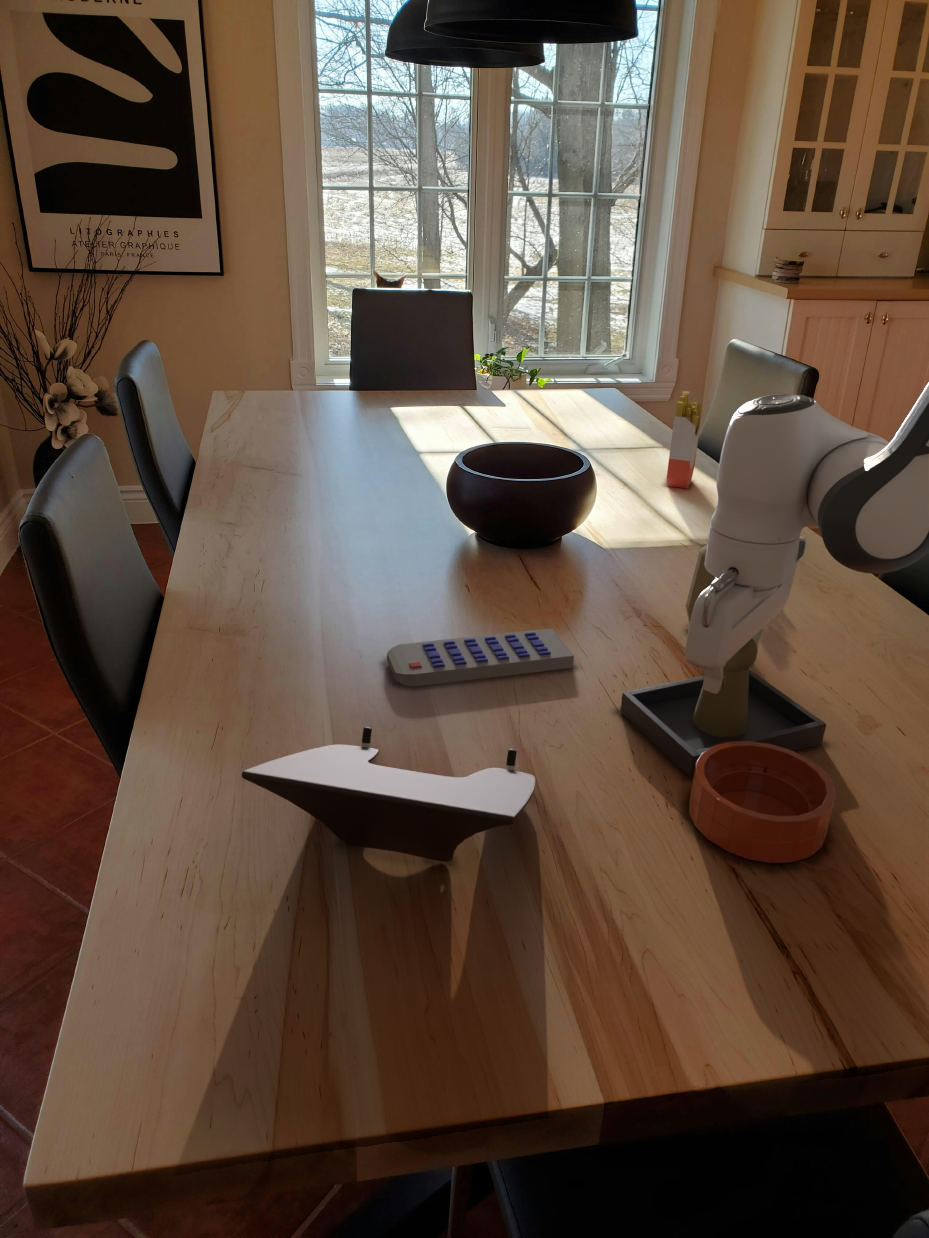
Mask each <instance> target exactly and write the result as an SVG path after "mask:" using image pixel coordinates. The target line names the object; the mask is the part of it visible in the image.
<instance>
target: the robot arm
mask: <svg viewBox="0 0 929 1238" xmlns="http://www.w3.org/2000/svg"><path fill="white" fill-rule="evenodd" d="M717 469H718V470H717V476H716V491H717V504H716V507H715V510H714V512H713V514H712V517H711V518H710V522H709V523H710V524H709V531H708V537H707V544H706V545H707V550H706V557H705V568H706V570H707V571H708V572H709V573H710V574H712V575H713V576H715V580H714V581H713V582H712V583H711V585H710V586H709V587H708V588H706V589H705V590H704V591H703V592H702V593H701V594H700V595H699V596H698V598H697V600H696V603H695V605H694V609H693V612H692V616H691V621H690V625H689V626H688V629H687V630H688V631H687V635H686V640H685V646H684V653H683V654H684V658H685V662H686V663H688V664H690V665H692V666H695V667H697V668H701V669H702V673H703V676H704V682H703V689H704V690H705V691H708V692H711V693H714V694H717V693H718V692H719V691H720V690H721V689H722V688H723V687H724V682H725V678H726V675H724V674H723V667H724V666H725V665H726V662H727V661H728V660H729V659H730V658H732V657H733V656H734V655H735V654H736V653H737V652H738V651H739V650H740V649H741V648H742V647H743V646H744V645H745V644H746V643H747V642H748V641H749V640H751V639H754V641H755V643H756V645H757V650H758V651H759V647H760V643H761V641H762V639H763V636H764V633H765V631H766V629H767V627H768V626H767V625H768V624H769V623H770V622H771V621H772V620H773V619H774V618H775V617H776V616H777V615H778V614H779V613H780V612H781V611H782V610H783V609H784V607H785V606H786V604H787V601H788V599H789V597H790V593H791V590H792V587H793V584H794V583H793V582H794V579H795V576H796V572H797V568H798V563H799V561H800V560H801V559H802V557H803V556H804V555H805V553H806V548H807V544H808V543H807V542H808V540H807V538H806V537H804V536H801V533H802V530H804V528H806V527H818V530H819V532H820V536H821V538H822V541H823V544H824V547H825V549H826V550H827V552H828V553H829V555H830V556H831V557H832V558H833V559H834V560H835V561H836V562H838V564H840V565H842V566H844V567H845V568H846V569H848V570H849V569H850V570H852V571H855V572H858V573H862V574H871V575H872V574H873V575H874V574H886V573H888V574H889V573H893V572H896V571H899V570H902V569H905V568H907V567H909V566H911V565H913V564H914V563H916V562H918V561H920V560H921V559H922V558H924V556H926V555H927V554H928V553H929V382H927V384H926V386H925V387H924V389H923V391H922V392H921V393H920V395H919V397H918V398H917V400H916V402H915V403H914V405H913V406H912V408H911V410H910V411H909V412H908V415H907V416H906V417H905V419H904V421H903V422H902V424H901V426H900V427H899V429H898V430H897V432H896V433H895V435H894V436H893V438H892V439H891V441H890V442H889V441H888V440H886V438H884V437H881V436H880V435H877V434H876V433H875V434H874V433H871V432H869V431H866V430H863V429H860V428H857V427H854V426H852V425H851V424H849V423H846V422H845V421H842V420H841V419H839V418H838V417H835V416H834V415H832V414H831V413H829V412H828V411H827V410H826V409H824V408H823V407H822V406H821V405H820V404H819V403H818V402H817V401H816V400H815V399H814V398H812V397H809V396H807V395H803V394H790V393H780V394H779V393H778V394H770V395H765V396H760V397H757V398H754V399H752V400H749V401H747V402H745V403H743V404H742V405H741V406H740V407H738V408H737V410H735V411H734V414H733V415H732V416H731V419H730V421H729V424H728V427H727V429H726V433H725V436H724V440H723V444H722V448H721V453H720V458H719V464H718V468H717Z"/></svg>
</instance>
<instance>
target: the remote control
mask: <svg viewBox="0 0 929 1238" xmlns="http://www.w3.org/2000/svg"><path fill="white" fill-rule="evenodd" d="M386 661H387V664H388V667H389V669H390V671H391V673H392V675H393V678H394V680H395V682H397V683H399V684H401V685H402V686H407V687H413V688H414V687H422V686H430V685H438V684H446V683H454V682H455V683H456V682H465V681H473V680H481V679H482V680H483V679H488V678H489V679H490V678H497V677H506V676H515V675H523V674H529V673H530V674H531V673H540V672H546V671H547V672H548V671H556V670H565V669H573V668H574V661H575V656H574V654H573V652H572V651H571V649H569V648H568V647H567V645H566V644H565V643H564V642H563V640H562V639H561V638H560V637H559V636H558V634H557V633H556V632H555V630H554V629H553V628H552V627H549V628H541V629H540V628H539V629H532V630H531V629H530V630H522V631H512V632H503V633H494V634H485V635H475V636H464V637H457V638H447V639H437V640H427V641H419V642H410V643H400V644H398V645H395V646H392V647H390V649H389V650H388V651H387V652H386Z"/></svg>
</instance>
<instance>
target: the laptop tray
mask: <svg viewBox="0 0 929 1238" xmlns="http://www.w3.org/2000/svg"><path fill="white" fill-rule="evenodd" d="M372 732H373V729H372V727H370V726H364V727H363V730H362V736H361V737H362V738H361V745H360V746H359V745H352V744H329V745H324V746H320V747H315V748H309V749H306V750H303V751H299V752H296V753H292V754H288V755H286V756H282V757H279V758H275V759H273V760H270V761H269V760H268V761H266V762H264V763H261V764H258V765H255V766H252V767H250V768H247V769H244V770H242V772H241V778H242V779H243V780H246V781H247V782H250V783H252V784H254V785H256V786H258V787H261V788H262V789H264V790H267V791H268V792H270V793H272V794H274V795H276V796H278V797H280V798H283V799H284V800H285V801H288V802H290V803H291V804H293V805H294V806H296V807H298V808H299V809H301V810H303V811H304V812H306V813H308V814H309V815H310V816H312V817H313V818H314V819H316V820H317V821H318V822H320V823H321V824H322V825H324V826H325V827H326V828H327V829H329V831H330V832H331V833H332V834H333V835H334V836H335V837H336V838H337V839H338V840H339V841H340V842H342V843H344V844H345V845H349V846H355V847H359V848H367V849H375V850H382V851H389V852H394V853H400V854H404V855H409V856H414V857H418V858H423V859H428V860H432V861H437V862H443V863H449V862H452V861H453V859H454V855H455V852H456V850H457V848H458V847H459V846H460V845H461V844H462V843H463V842H464V841H466V840H467V839H469V838H470V837H473V836H474V835H476V834H478V833H483V832H485V831H489V830H492V829H496V828H500V827H505V826H509V825H513V824H514V822H515V820H516V818H517V817H518V816H519V815H520V814H521V813H522V812H523V810H524V809H525V808H526V807H527V806H528V803H529V802H530V800H531V798H532V796H533V795H534V791H535V787H536V778H535V776H534V775H533V774H531V773H527V772H522V771H519V770H515V767H516V761H517V753H518V751H517V750H516V749H514V748H509V749H507V755H506V764H505V765H506V768H502V767H488V768H485V769H482V770H479V771H476V772H473V773H471V774H470V775H467V776H460V777H459V776H449V775H448V776H447V775H440V774H433V773H427V772H421V771H414V770H410V769H402V768H396V767H390V766H384V765H379V764H374V763H371V762H372V761H374V759H375V758H376V757H377V756H378V755H379V751H380V750H379V749H378V748H373V747H370V744H371V740H372Z"/></svg>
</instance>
